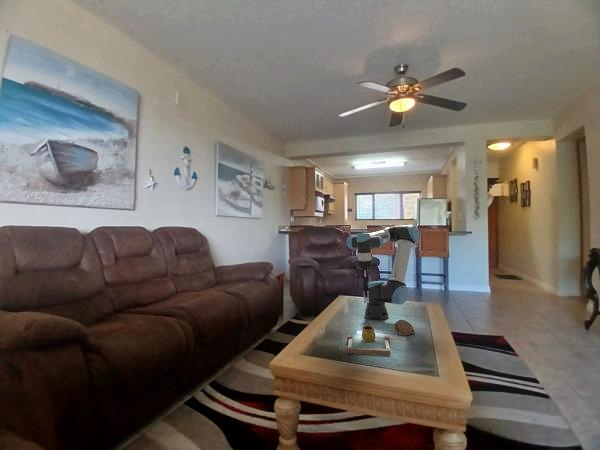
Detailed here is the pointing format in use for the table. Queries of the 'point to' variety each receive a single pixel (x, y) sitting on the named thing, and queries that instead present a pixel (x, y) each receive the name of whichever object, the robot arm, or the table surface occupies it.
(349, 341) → the pocket
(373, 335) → the mug
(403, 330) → the seashell
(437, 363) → the table surface
